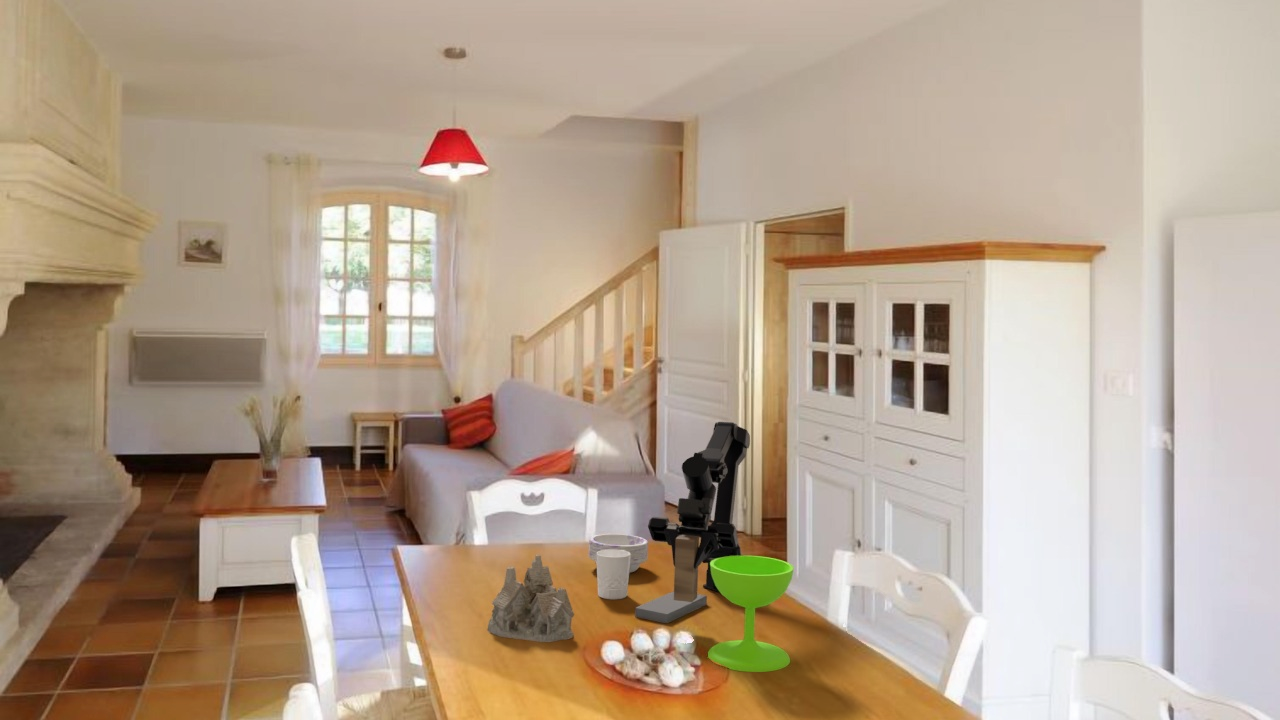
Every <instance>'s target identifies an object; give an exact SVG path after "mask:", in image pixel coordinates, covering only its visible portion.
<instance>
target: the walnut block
mask: <svg viewBox="0 0 1280 720" xmlns="http://www.w3.org/2000/svg"><path fill="white" fill-rule="evenodd" d="M699 540H700V537H699V536H690V535H679V536H678V537H677V538H676V541H675V567H674V575H673V576H674V578H673V579H674V581H673V582H674V584H673V585H674V586H673V591H674V600H677V601H686V602H693V601H694V600H695V599H696V598H697V594H698V583H699V581H698V579H699V566H698V567H697V569H694V562H695V558H696V554H697V551H698V548H699V545H700V541H699Z"/></svg>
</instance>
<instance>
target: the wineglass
mask: <svg viewBox="0 0 1280 720" xmlns="http://www.w3.org/2000/svg"><path fill="white" fill-rule="evenodd" d="M710 567H711V575H712V578H713V581H714V583H715V586H716V587H717V589H718V590H719V591H720V592H719V593H720V594H721V595H722V596H723V597H724V598H726V599H727V600H728V601H729V602H730V603H732V604H733V605H737V606H739V607H743V608H744V629H743V630H744V632H743V633H744V635H743V639H742V640H741V639H740V640H738V639H737V640H729V641H728V640H727V641H723V642H719V643H716V644H715V645H713V646H712V647H710V648H709V650H708V652H707V653H708V657H709V658H710V659H711V660H713V661H714V662H717V663H719V664H721V665H723V666H726V667H728V668H729V669H728V670H731V671H736V672H737V671H739V672H746V673H747V672H748V673H763V672H764V673H765V672H766V673H767V672H773V671H779V670H781V669H785V668H786V667H788V665H790V662H791V658H790V656H789V654H788V653H787V652H786V651H785V650H784V649H783V648H781V647H779V646H777V645H774V644H771V643H768V642H763V641H760V640H759V641H758V640H755V627H756V626H755V621H756V618H755V617H756V609H758V608H763V607H767V606H769V605H771V604H772V603H774V602H776V601H778V600H779V599H780V598H781V597H782V595H784V594H785V593H786V591H787V590H788V588H789V586H790V584H791V582H792V579H793V575H794V574H793V573H794V565H793V564H792V563H789V562H788V561H784V560H781V559H779V558H775V557H773V558H772V557H769V556H768V557H767V556H759V555H742V554H741V556H726V557H720V558H716V559H714V560H712V561H711V562H710ZM708 657H707V658H708Z"/></svg>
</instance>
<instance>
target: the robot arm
mask: <svg viewBox="0 0 1280 720" xmlns="http://www.w3.org/2000/svg"><path fill="white" fill-rule="evenodd" d="M712 431H713V432H712V434H711V437H710V439H709V441H708V443H707V444H706V447H705V449H703V450H701V451H699V452H693V453H694V454H693V456H691V457H689V458H687V459H685V460H684V462H683V463H682V465H681V471H682V475H683V478H684V482H685V485H686V488H687V490H689V492H688V497H687V498H683V497H681V498H678V503H677V511H676V514H678V515H679V516H678V522H679V523H681V524H680V525H679V524H678V523H676V522H670V520H669V517H659V516H652V517H651V518H650V519H649V520H648V525H647V527H648V531H649V533H650V537H651V539H652V540H653V541H654V542H663V543H667V545H668V546H671V552H672V553H671V554H672V563H673V566H674V568H675V541H676V538H677V537H678V536H679V535H690V536H699V538H700V541H699V548H698V551H697V554H696V558H695V562H694V569H697V567H698V568H699V566H700V565H701V564H707V569H706V575H705V576H706V577H705V579H706V581H705V584H702V588H706V589H708V590H711V591H714V592H717V593H720V591H719V590H718V589H717V587H716V586H715V583H714V581H713V578H712V575H711V567H710V562H711V561H712V560H714V559H716V558H720V557H726V556H741V555H742V550H741V547H740V543H739V541H738V540H739V536H738V532H737V529H736V528H737V527H736V526H735V524H733V518H734V510H735V509H734V508H735V501H736V500H735V499H736V494H737V493H736V491H737V483H738V474H739V472H738V471H739V466H740V465H741V463H742V462H743V461H744V459H745V458H746V456H747V451H748V449H749V448H750V446H751V435H750V433H749V432H748V430H747V429H746V428H743V427H740V426H739V425H738V424H737V423H734V422H730V421H718V422H715V423H714V427H713V430H712ZM714 483H715V484H717V487H716V486H715V484H714ZM715 496H716V498H715ZM714 501H715V509H714V515H713V517H714V518H713V521H712V522H711V520H712V511H713V507H714ZM710 522H711V523H710Z"/></svg>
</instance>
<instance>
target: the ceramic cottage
mask: <svg viewBox="0 0 1280 720" xmlns="http://www.w3.org/2000/svg"><path fill="white" fill-rule="evenodd" d="M534 557H535V558H534V560H532V562H531V567H527V569H526V571H525V575H524V580H523V583H524V584H523V583H522V582H520V581H517V572H516V568H515V567H512V566H511V567H510V566H508V567H507V568H506V572H505V577H504V584H503V587H502V588H501V589H500V591H499V592H497V593H498V594H497V595H496V597H495V598H494V599H493V601H491V602H490V603H491V604H492V605H493V609H492V610H491V613H492V614H491V618H490V619H489V620H488V624H487V630H486V631H488V633H490V634H492V635H494V636H495V635H496V636H498V637H500V638H507V639H508V638H510V639H515V640H524V641H530V642H531V641H532V642H533V641H534V642H541V643H550V642H551V643H552V642H557V641H561V640H562V641H563V640H564V641H565V640H569V639H572V638H573V637H574V632H573V631H572V621H573V620H572V618H573V617H575V613H574V611H573V607H572V604H571V601H570V598H569V595H568V591H567V589H566V588H565V589H564V587H558V589H557V588H556V587H554V586H553V583H554V582H553V579H552V575H551V571H550V568H549V566H548V565H546V566H543V561H542V558H541V557H542V555H540V554H535V556H534Z"/></svg>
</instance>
